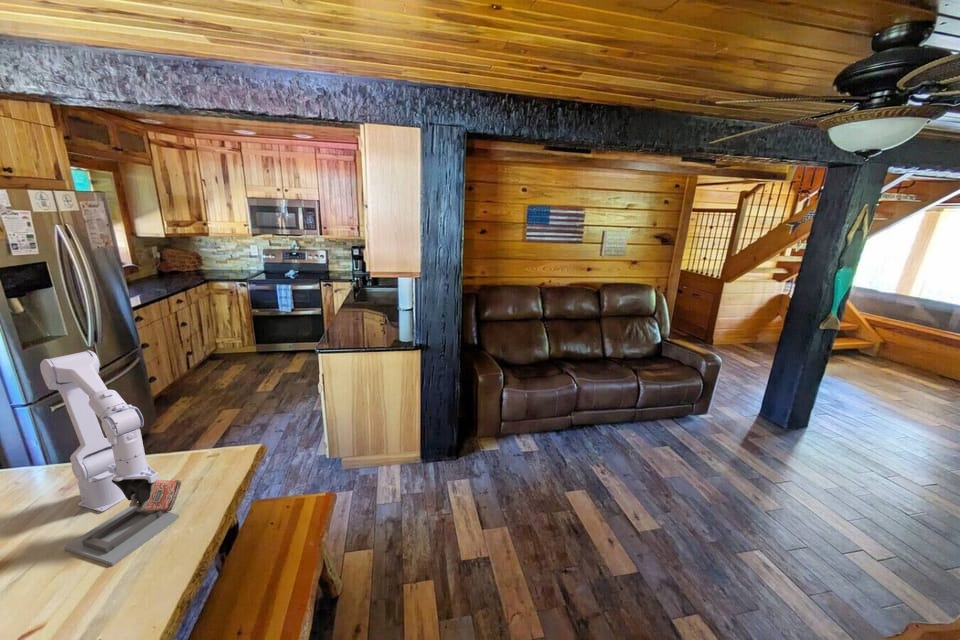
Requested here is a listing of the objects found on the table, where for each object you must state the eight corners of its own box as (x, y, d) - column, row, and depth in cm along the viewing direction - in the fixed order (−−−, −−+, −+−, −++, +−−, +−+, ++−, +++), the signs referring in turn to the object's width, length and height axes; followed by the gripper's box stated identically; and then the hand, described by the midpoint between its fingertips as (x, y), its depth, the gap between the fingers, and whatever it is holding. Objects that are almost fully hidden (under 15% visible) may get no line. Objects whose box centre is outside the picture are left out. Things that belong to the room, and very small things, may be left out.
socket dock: (64, 550, 94) (62, 541, 93) (136, 505, 109) (134, 498, 108) (112, 566, 90) (110, 557, 90) (179, 517, 105) (178, 510, 105)
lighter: (171, 512, 106) (129, 512, 97) (165, 510, 107) (122, 511, 99) (183, 480, 109) (143, 478, 101) (176, 480, 110) (136, 478, 102)
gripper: (89, 458, 95) (100, 504, 98) (133, 468, 92) (143, 516, 95) (121, 443, 102) (130, 486, 105) (163, 452, 99) (171, 497, 102)
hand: (138, 499), depth 101 cm, fingers closed on lighter, 3 cm apart
